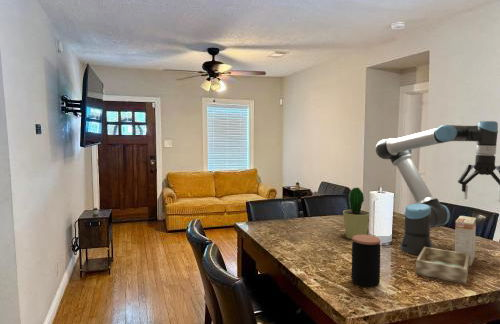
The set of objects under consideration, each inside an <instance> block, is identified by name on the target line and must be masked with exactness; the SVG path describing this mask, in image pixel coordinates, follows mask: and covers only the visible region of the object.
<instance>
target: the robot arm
mask: <svg viewBox="0 0 500 324" xmlns="http://www.w3.org/2000/svg"><path fill="white" fill-rule="evenodd" d="M498 128H499V123H498V122H497V121H494V120H492V121H491V120H483V121H482V120H481V121H479V122H478V124H477V125H458V124H457V125H456V124H455V125H454V124H444V125H443V124H442V125H439V126H438V127H436V128H432V129H429V130H424V131H422V132H417V133H413V134H410V135H405V136H402V137H396V138H392V137H391V138H386V139H385V138H384V139H382V140H379V141H378V142H377V144H376V145H375V153H376V155H377V156H378V157H379V158H380V159H383V160H390V162H391V163H392V165H393V166H396V167H397V169H398V171H399V173H400V175H401V176H402V178H403V181H404V182H405V184H406V186H407V188H408V189H409V191H410V193H411V194H412V197H413V199H414V200H415V202H416V203H412V204H409V205H407V206H406V207H405V210H404V234H403V237H402V240H401V242H400V251H402V252H404V253H408V254H412V255H417V256H419V255H420V253H421V251H422V250H423V248H424V247H429V248H434V246H433V244H432V243H433V242H432V241H431V237H430V236H431V233H430V232H431V229H433V228H434V229H435V228H440V227H442V226H445V225H446V224H447V223H449V221H450V218H451V213H450V210H449V208H448V207H447V206H446V205H444V204H442V203H440V200H439V199H438V198H437V197H434V196H433V195H432V193H431V191H430V190H429V188H428V186H427V184H426V181H424V179H423V177H422V175H421V174H420V172H419V170H418V169H417V166H416V164H415V163H414V161H413V160H412V159H413V154H412V153H413V150H416V149H420V148H425V147H430V146H433V145H434V146H435V145H439V144H443V143H444V144H445V143H448V142H476V149H475V154H476V155H475V159H474V163H475V164H469V163H468V164H467V165H466V168H465V169H464V171H463V173H462V175H461V176H460V177H459V179H458V180H457V183H458V184H461V191H462V192H463V199H464V200H467V199H468V191H469V190H468V189H469V185H467V184H469V182H471V181H472V180H473V179H474V178H476V176H478V175H482V176H483V175H484V176H485V175H486V176H491V178H493V179H494V181H495V182H496V183H497V184H498V185H499V186H498V187H497V198H496V201H498V202H500V178H499V176H497V174H496V173H495V172H494V171H495V170H496V171H497V172H498V173H499V174H500V165H496V156H495V155H496V153H497V143H498V142H497V140H498V132H499V129H498ZM473 169H474V171H473V172H472V173H471V174H470V175H469V173H470V172H471V170H473ZM467 176H468V177H467ZM466 177H467V178H466Z"/></svg>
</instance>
